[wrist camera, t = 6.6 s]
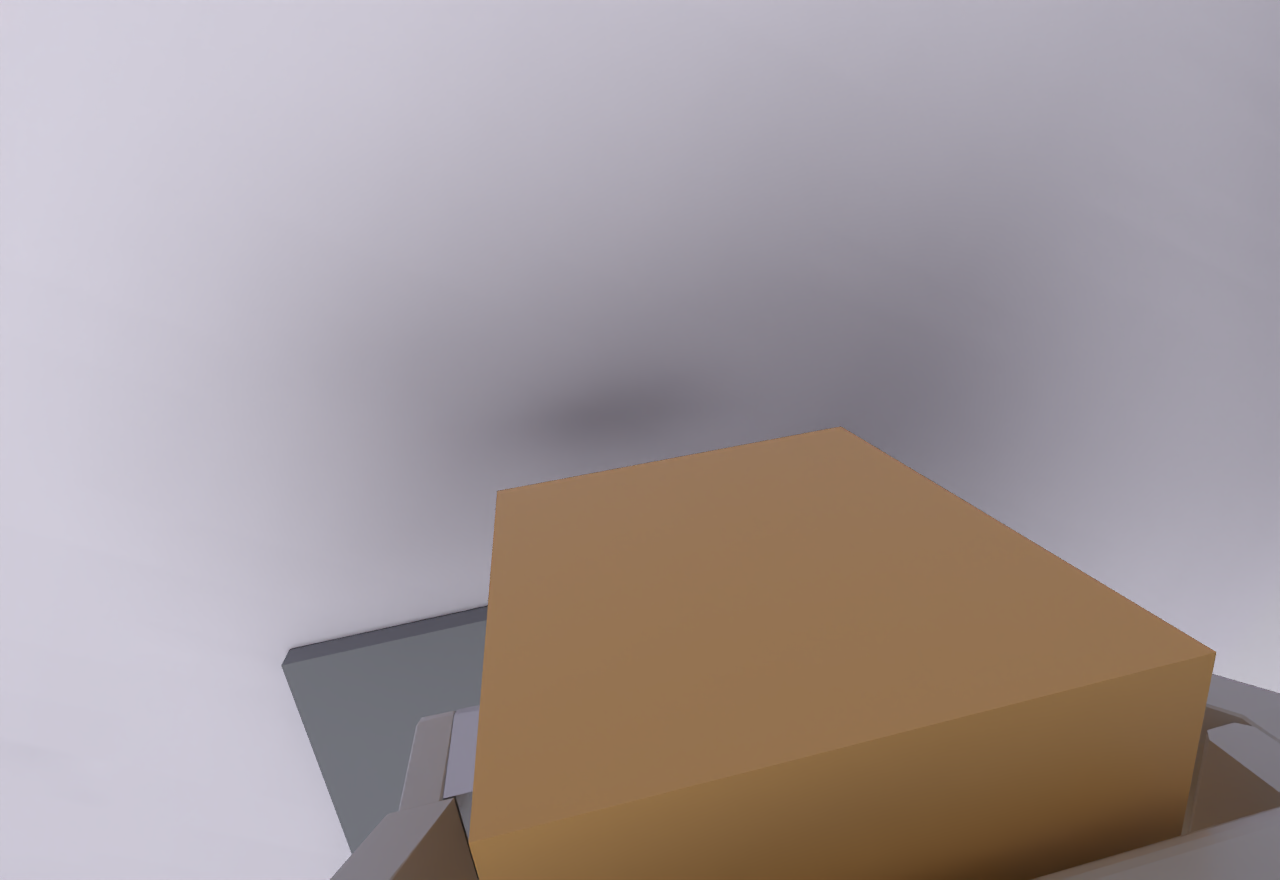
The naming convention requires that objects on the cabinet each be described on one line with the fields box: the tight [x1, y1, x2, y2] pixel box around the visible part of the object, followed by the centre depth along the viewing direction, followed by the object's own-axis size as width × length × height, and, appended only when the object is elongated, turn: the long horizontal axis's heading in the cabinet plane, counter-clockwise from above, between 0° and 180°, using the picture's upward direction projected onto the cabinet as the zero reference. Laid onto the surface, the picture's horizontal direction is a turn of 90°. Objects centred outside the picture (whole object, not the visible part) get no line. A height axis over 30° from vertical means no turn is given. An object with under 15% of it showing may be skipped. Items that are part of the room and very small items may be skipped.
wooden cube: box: [469, 426, 1216, 880], centre depth 9 cm, size 6×6×6 cm
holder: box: [281, 606, 488, 854], centre depth 27 cm, size 20×16×4 cm
